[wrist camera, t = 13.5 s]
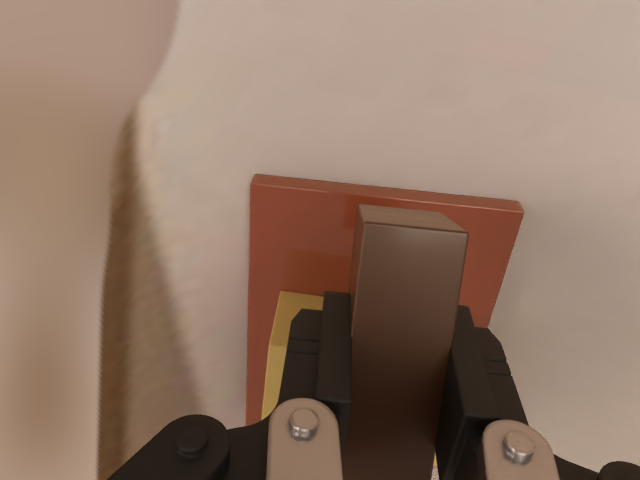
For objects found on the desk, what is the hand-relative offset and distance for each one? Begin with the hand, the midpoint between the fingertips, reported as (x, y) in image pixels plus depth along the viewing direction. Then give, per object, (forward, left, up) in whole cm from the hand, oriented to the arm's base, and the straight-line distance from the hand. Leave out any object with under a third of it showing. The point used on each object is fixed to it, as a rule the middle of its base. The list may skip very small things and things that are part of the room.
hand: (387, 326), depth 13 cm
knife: (+3, -1, 0) cm, 3 cm away
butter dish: (+5, -1, -6) cm, 8 cm away
